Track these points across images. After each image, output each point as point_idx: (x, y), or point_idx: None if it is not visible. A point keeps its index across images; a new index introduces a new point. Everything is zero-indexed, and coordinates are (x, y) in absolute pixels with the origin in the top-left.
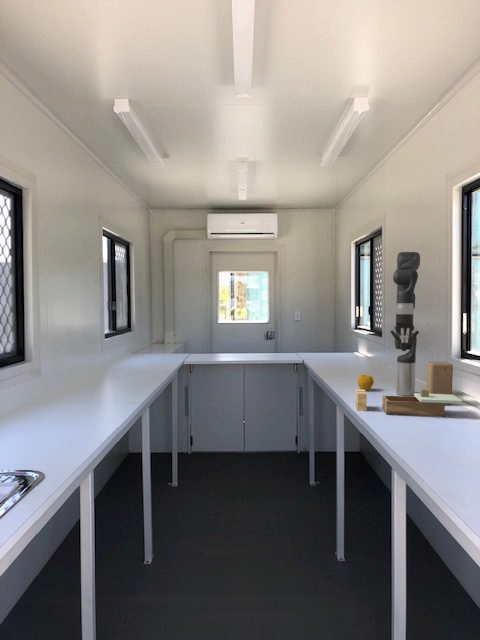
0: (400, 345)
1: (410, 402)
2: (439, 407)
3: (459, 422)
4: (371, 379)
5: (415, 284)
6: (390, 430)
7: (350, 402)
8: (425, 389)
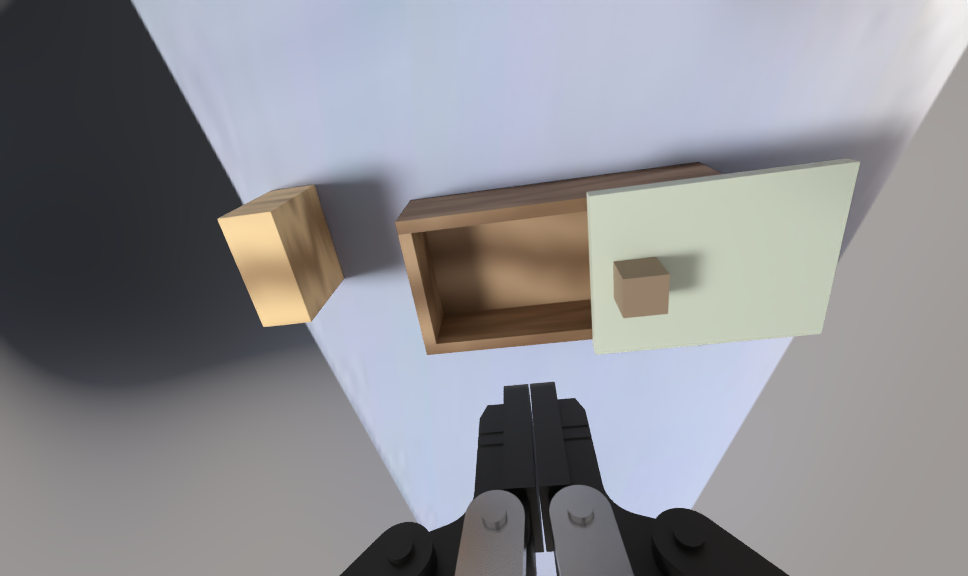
0: (477, 458)
1: (542, 342)
2: None
3: (725, 353)
4: None
5: None
6: (455, 489)
7: (220, 108)
8: (655, 285)
